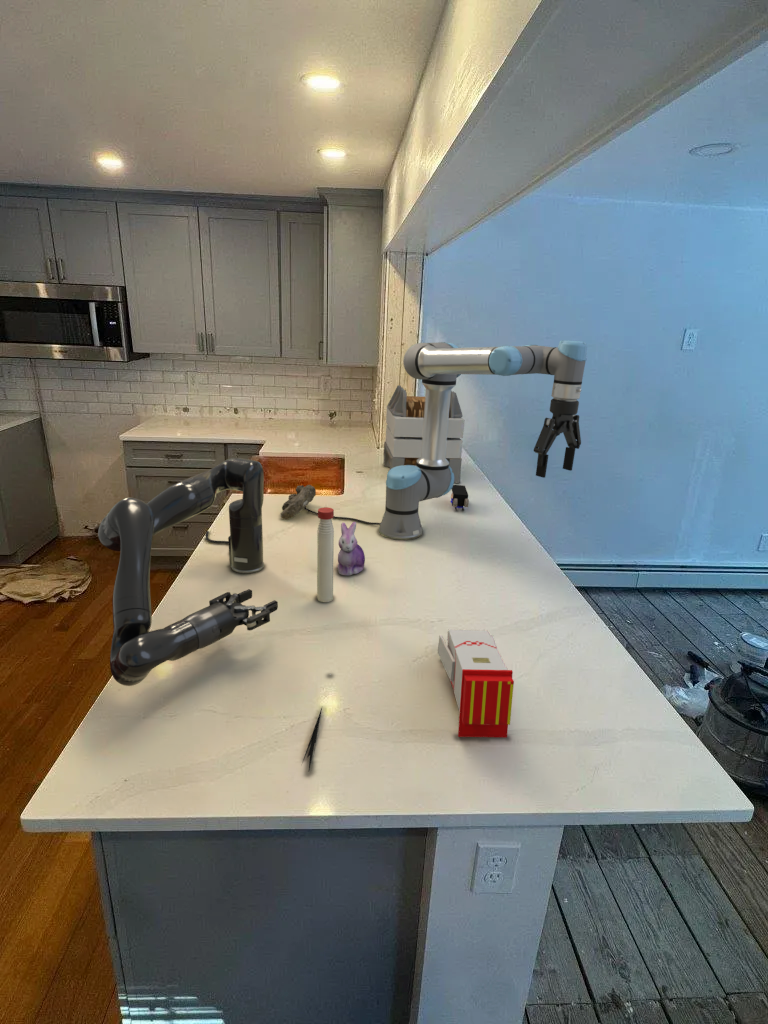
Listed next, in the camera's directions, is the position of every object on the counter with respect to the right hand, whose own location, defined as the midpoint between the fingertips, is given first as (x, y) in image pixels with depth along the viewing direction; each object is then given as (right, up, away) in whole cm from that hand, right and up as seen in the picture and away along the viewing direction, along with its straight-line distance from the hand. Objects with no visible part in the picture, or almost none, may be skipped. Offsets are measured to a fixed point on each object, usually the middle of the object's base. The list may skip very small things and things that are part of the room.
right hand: (554, 473), depth 164 cm
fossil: (-82, -11, +53) cm, 98 cm away
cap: (-64, -11, -19) cm, 68 cm away
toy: (-31, -49, -46) cm, 74 cm away
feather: (-62, -51, -56) cm, 97 cm away
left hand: (-77, -32, -32) cm, 89 cm away
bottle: (-65, -35, -11) cm, 75 cm away
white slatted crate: (-32, +8, +111) cm, 116 cm away
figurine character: (-19, -9, +66) cm, 69 cm away
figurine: (-59, -29, +7) cm, 66 cm away
